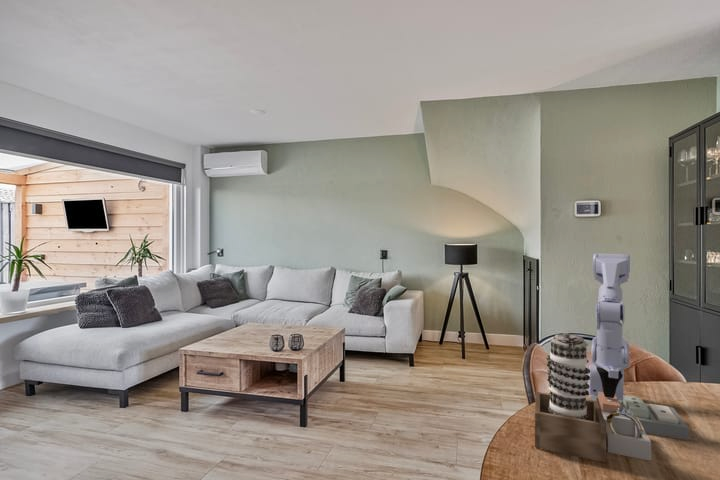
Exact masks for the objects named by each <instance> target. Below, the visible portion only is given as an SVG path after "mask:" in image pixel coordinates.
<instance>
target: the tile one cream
mask: <svg viewBox="0 0 720 480" xmlns="http://www.w3.org/2000/svg"><path fill="white" fill-rule="evenodd" d="M649 404H650V406H649V409H650V410H651V412H652V414H653V415H654V417H655V418H656V420H657V421H663V422H669V423H675V424H678V423H679V420H678V419H677V418H676V416H675V415H674V414H673V413H672V411H671V410H670V409H669V407H670V406H667V405H662V404H661V405H660V404H655V403H654V404H653V403H649Z"/></svg>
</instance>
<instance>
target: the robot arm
mask: <svg viewBox="0 0 720 480" xmlns="http://www.w3.org/2000/svg"><path fill="white" fill-rule="evenodd" d="M630 270H631V256H630V255H629V254H628V253H624V254H623V253H597V252H595V253H594V254H593V255H592V271H593V277H594V281H596V282H598V283H600V284H601V285H600V286H599V287H598V295H597V296H598V298H597V299H598V300H597V303H596V304H595V321H596V329H597V331H596V332H597V333H596V336H595V337H593V338H592V340H591V349H590V359H591V363H592V364H589V365H588V367H587V368H588V369H590V373H588V374H587V375H588V376H590V380H587V382H586V383H587V384H589V388H588V389H587V391H588V392H589V396H590V398H591V395H592V396H598V392H603V393H604V396H605V397H609V398H614V396H616V398H617V399H618V400H623V395H625V393H624V391H625V390H624V389H625V385H624V384H625V383H624V381H625V378H624V377H625V369H628V368H630V349H629V348H630V346H629V344H628V341H627V340H626V339H624V338H623V325H624V323H625V305H624V301H623V288H621V286H622V285H623V284H625V283H627V282H629V281H628V280H629V278H630V272H631V271H630ZM621 322H622V323H621Z"/></svg>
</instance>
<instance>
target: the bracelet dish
mask: <svg viewBox="0 0 720 480" xmlns="http://www.w3.org/2000/svg"><path fill="white" fill-rule="evenodd" d="M608 416H609V415H608V414H603V417H604V420H605V423H606V452H607V453H608V454H609V453H610V454H614V455H621V456H625V457H631V458H635V459H639V460H645V461H650V462H651V461H652V441H651V440H650V438H649V436H648V433H646V432H645V430H644V428H643V427H642V433H641V438H636V436H637V428H636V426H635V424H634V422H633V421H632V420H631V419H630V418H626V417H620V416H615V417H613V418H612V421H611V423H612V427H613V429H614V431H615V432H616V433H617V434H613V433H612V431H611V428H610V426H609V423H608V422H607V417H608ZM638 421H639V420H638ZM639 422H640V421H639ZM640 424H641V423H640ZM641 426H642V425H641Z"/></svg>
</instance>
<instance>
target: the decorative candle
mask: <svg viewBox="0 0 720 480" xmlns="http://www.w3.org/2000/svg"><path fill="white" fill-rule="evenodd" d="M549 341H550V352H549V355H547V356H546V361H547V363H546V366H547V367H548V370H547V375H548V376H547V379H546V380H547V382H548V390H549V391H550V393H549V394H550V406H549V407H548V411H549V414H555V415H561V416H567V417H572V418H578V419H584V420H588V415H587V406H586V399H587V397H588V396H590V394H589V391H588V388H589V384H587V383H588V380H590V376H588V373H590V369H588V367H586V366H587V365H588V363H590V362H589V359H588V356H587V347H588V346H589V343H588V342H586V341H585V339H584V337H582V336H580V335H578V334H573V333H566V332H564V333H563V332H562V333H561V332H560V333H556V334H555V335H554V336H553V338H550V340H549ZM586 381H587V382H586Z"/></svg>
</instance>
